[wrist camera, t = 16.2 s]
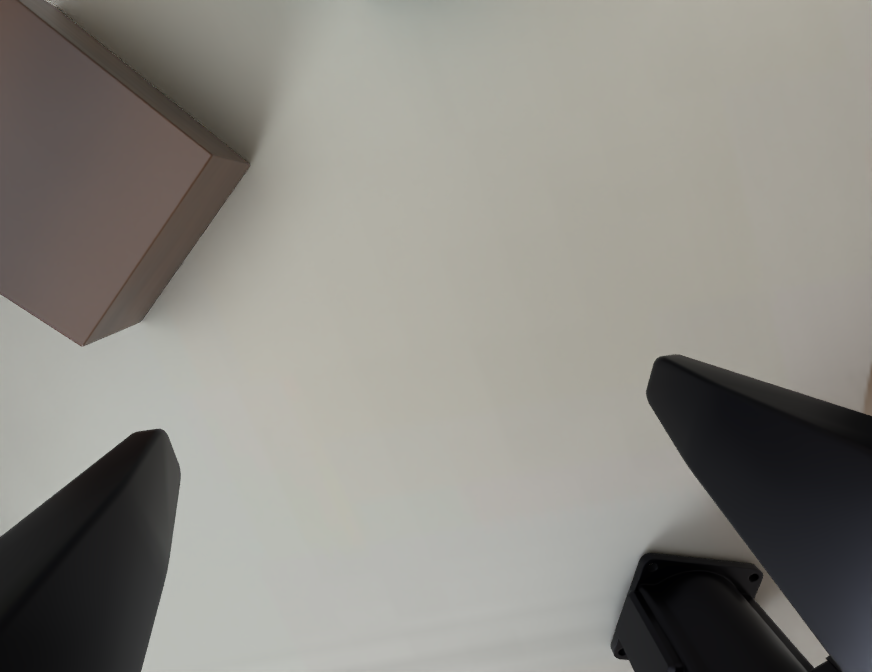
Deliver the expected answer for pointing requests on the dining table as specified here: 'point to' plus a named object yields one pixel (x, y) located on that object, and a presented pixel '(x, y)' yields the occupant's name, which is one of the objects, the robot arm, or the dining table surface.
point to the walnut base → (94, 178)
